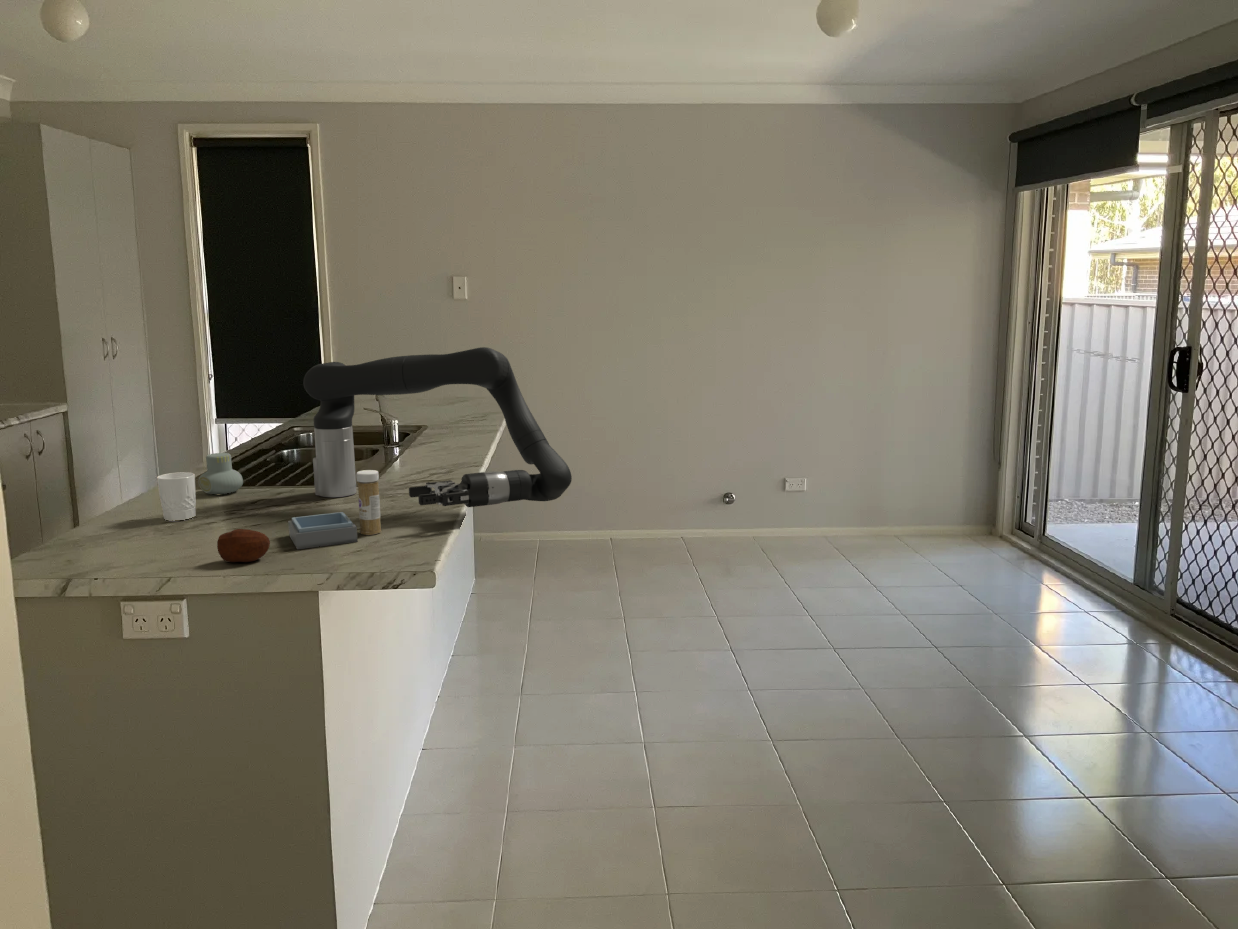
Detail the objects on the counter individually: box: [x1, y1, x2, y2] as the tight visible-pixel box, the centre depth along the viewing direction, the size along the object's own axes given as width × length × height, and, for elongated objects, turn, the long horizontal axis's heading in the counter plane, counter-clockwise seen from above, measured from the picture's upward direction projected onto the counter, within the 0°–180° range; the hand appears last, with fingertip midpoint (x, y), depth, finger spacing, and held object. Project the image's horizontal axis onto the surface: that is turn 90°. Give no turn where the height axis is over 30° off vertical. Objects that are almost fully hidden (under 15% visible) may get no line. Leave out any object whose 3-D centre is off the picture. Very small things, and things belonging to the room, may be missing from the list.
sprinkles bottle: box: [355, 469, 382, 536], centre depth 206 cm, size 5×5×14 cm
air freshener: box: [197, 452, 244, 495], centre depth 247 cm, size 11×8×10 cm
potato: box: [216, 528, 271, 563], centre depth 187 cm, size 7×9×6 cm
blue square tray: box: [287, 511, 359, 550], centre depth 202 cm, size 12×12×4 cm
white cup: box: [156, 471, 197, 522], centre depth 221 cm, size 8×8×10 cm
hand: (414, 496), depth 210 cm, fingers open, 8 cm apart
